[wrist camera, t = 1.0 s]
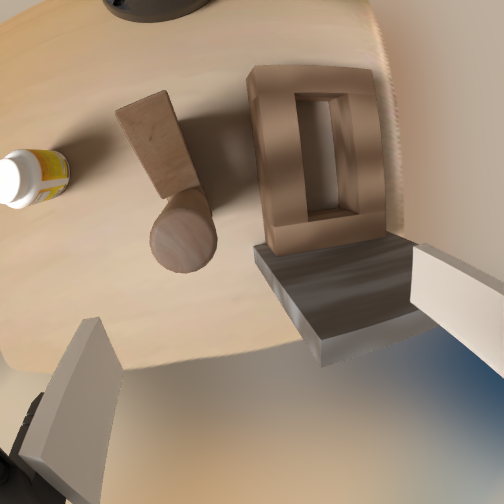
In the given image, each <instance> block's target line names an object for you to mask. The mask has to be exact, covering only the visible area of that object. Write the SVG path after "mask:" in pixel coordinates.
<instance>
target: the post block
mask: <svg viewBox="0 0 504 504" xmlns="http://www.w3.org/2000/svg"><path fill="white" fill-rule="evenodd" d="M246 83H247V91H248V99H249V106H250V114H251V122H252V130H253V138H254V146H255V154H256V162H257V170H258V179H259V187H260V196H261V204H262V213H263V222H264V230H265V239H266V244H264V245H258V246H253V248H254V256H255V263H256V265H257V266H258V268H259V269H260V271H261V273H262V274H263V276H264V277H265V279H266V281H267V282H268V284H269V285H270V287H271V289H272V290H273V292H274V293H275V295H276V296H277V298H278V300H279V301H280V303H281V304H282V306H283V308H284V309H285V311H286V312H287V314H288V316H289V317H290V319H291V320H292V322H293V324H294V325H295V327H296V328H297V330H298V332H299V333H300V335H301V336H302V338H303V339H304V341H305V342H306V344H307V346H308V347H309V349H310V351H311V352H312V354H313V355H314V357H315V359H316V360H317V362H318V363H319V365H320V366H321V367H324V366H327V365H331V364H335V363H338V362H341V361H345V360H348V359H351V358H354V357H357V356H360V355H363V354H366V353H369V352H372V351H375V350H378V349H381V348H384V347H386V346H389V345H392V344H394V343H397V342H400V341H403V340H405V339H408V338H410V337H413V336H415V335H418V334H421V333H423V332H425V331H428V330H430V329H432V328H435V327H437V326H439V324H438V323H437V322H436V321H434V320H433V319H432V318H430V317H429V316H428V315H427V314H425V313H424V312H423V311H421V310H420V309H419V308H418V307H416V306H415V305H414V304H412V303H411V302H410V296H411V283H412V268H413V246H417V245H419V244H416V243H414V242H412V241H409V240H407V239H405V238H402V237H400V236H397V235H395V234H392V233H390V232H387V231H386V199H385V178H384V163H383V150H382V140H381V130H380V122H379V114H378V106H377V99H376V93H375V86H374V80H373V75H372V70H368V69H359V68H348V67H335V66H315V65H262V66H254V68H253V69H252V71H251V72H250V74H249V75H248V77H247V78H246ZM298 101H329V107H330V115H331V123H332V131H333V140H334V149H335V159H336V170H337V182H338V196H339V208H334V209H326V210H319V211H312V212H307V202H306V191H305V180H304V170H303V161H302V151H301V143H300V134H299V126H298V118H297V111H296V103H295V102H298Z"/></svg>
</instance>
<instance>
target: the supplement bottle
mask: <svg viewBox="0 0 504 504" xmlns="http://www.w3.org/2000/svg"><path fill="white" fill-rule="evenodd" d="M69 177H70V169H69V164H68V162H67V160H66V158H65V157H64V156H63V155H62V154H61V153H59V152H57V151H53V150H28V149H20V150H15V151H13V152H11V153H9V154H8V155H7V156H6V157H5V158H4V159H2V160H0V203H2V204H7V205H8V206H10V207H12V208H16V209H19V208H24V207H27V206H30V205H33V204H36V203H39V202H43V201H46V200H49V199H52V198H55V197H57V196H59V195H60V194H61V193H62V192H63V191H64V190H65V188H66V186H67V184H68V181H69Z"/></svg>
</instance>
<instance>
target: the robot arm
mask: <svg viewBox="0 0 504 504" xmlns="http://www.w3.org/2000/svg"><path fill="white" fill-rule="evenodd" d="M102 1H103V3H104V4H105V6H106V7H107V9H108V10H109V11H110V12H111V13H113V14H114V15H116V16H117V17H119V18H122V19H125V20H128V21H133V22H140V23H153V22H162V21H167V20H171V19H175V18H178V17H181V16H184V15H186V14H189V13H191V12H193V11H195V10H197V9H198V8H200V7H201V6H203V5H204V4H206V3H207V2H208V1H209V0H102ZM410 302H411V303H412V304H414V305H415V306H416V307H418V308H419V309H420V310H421V311H423V312H424V313H425V314H427V315H428V316H429V317H430V318H432V319H433V320H434V321H436V322H437V323H438V324H439V325H441V326H442V327H443V328H444V329H446V330H447V331H448V332H449V333H451V334H452V335H453V336H454V337H455V338H457V339H458V340H459V341H460V342H462V343H463V344H464V345H465V346H467V347H468V348H469V349H470V350H471V351H472V352H474V353H475V354H476V355H477V356H478V357H480V358H481V359H482V360H483V361H484V362H486V363H487V364H488V365H489V366H490V367H491V368H492V369H494V370H495V371H496V372H497V373H498V374H499V375H500V376H502V377H503V378H504V283H503V282H502V281H500V280H498V279H496V278H494V277H492V276H490V275H489V274H487V273H485V272H483V271H481V270H479V269H477V268H475V267H473V266H471V265H469V264H468V263H466V262H464V261H462V260H460V259H458V258H456V257H454V256H452V255H449V254H447V253H445V252H443V251H441V250H439V249H437V248H435V247H433V246H431V245H429V244H426V243H424V244H421V245H417V246H413V268H412V283H411V296H410ZM123 375H124V370H123V368H122V366H121V364H120V362H119V360H118V358H117V356H116V354H115V351H114V349H113V347H112V345H111V343H110V341H109V338H108V336H107V334H106V331H105V329H104V327H103V324H102V322H101V320H100V317H95V318H90V319H84V320H82V322H81V324H80V326H79V327H78V329H77V331H76V333H75V335H74V336H73V338H72V340H71V342H70V344H69V345H68V347H67V349H66V351H65V353H64V355H63V357H62V359H61V360H60V362H59V364H58V366H57V368H56V370H55V372H54V374H53V376H52V378H51V380H50V382H49V385H48V386H47V388H46V391H45V392H43V393H42V392H41V393H40V394H39V395H38V397H37V398H36V399H35V400H34V401H33V402H32V403H31V406H30V408H29V410H28V412H27V416H25V418H24V421H23V426H21V427H20V430H19V432H18V434H17V437H16V439H15V442H14V444H13V447H12V449H11V452H10V454H9V457H8V455H7V454H6V453H5V452H4V451H3V450H2V449H1V448H0V504H65V502H66V499H67V500H69V501H70V502H71V503H72V504H100V497H101V489H102V482H103V475H104V469H105V462H106V456H107V451H108V445H109V440H110V434H111V429H112V424H113V418H114V414H115V409H116V405H117V401H118V396H119V392H120V387H121V383H122V379H123Z"/></svg>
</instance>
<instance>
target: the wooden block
mask: <svg viewBox="0 0 504 504" xmlns="http://www.w3.org/2000/svg"><path fill="white" fill-rule="evenodd" d="M115 115H116V117H117V119H118V121H119V123H120V125H121V127H122V129H123V131H124V132H125V134H126V136H127V138H128V140H129V142H130V144H131V145H132V147H133V149H134V151H135V153H136V155H137V156H138V158H139V160H140V162H141V164H142V165H143V167H144V169H145V171H146V173H147V174H148V176H149V178H150V180H151V181H152V183H153V185H154V187H155V188H156V190H157V192H158V194H159V195H160V197H161V198H162V199H165V198H167V200H168V204H167V205H166V207H165V208H164V209H163V211H162V212H161V214H160V215H159V217H158V218H157V219H156V221H155V222H154V224H153V227H152V229H151V232H150V247H151V250H152V254H153V255H154V257H155V258H156V260H157V261H158V263H160V264H161V265H162V266H163V267H165V268H166V269H168V270H170V271H173V272H176V273H190V272H195V271H197V270H199V269H201V268H203V267H204V266H206V265H207V263H208V262H209V261H210V260H211V259H212V258H213V255H214V253H215V251H216V249H217V239H218V238H217V233H216V229H215V225H214V222H213V219H212V212H211V209H210V207H209V204H208V201H207V199H206V196H205V193H204V191H203V188H202V185H201V183H200V180H199V177H198V174H197V172H196V169H195V166H194V164H193V161H192V158H191V156H190V153H189V150H188V147H187V145H186V142H185V139H184V136H183V134H182V131H181V128H180V125H179V123H178V120H177V117H176V114H175V112H174V109H173V106H172V103H171V101H170V98H169V95H168V93H167V91H165V90H163V91H161V92H158V93H155V94H153V95H151V96H148V97H146V98H143V99H141V100H139V101H136V102H134V103H132V104H129V105H127V106H125V107H123V108H120V109H118V110H116V111H115Z"/></svg>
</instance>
